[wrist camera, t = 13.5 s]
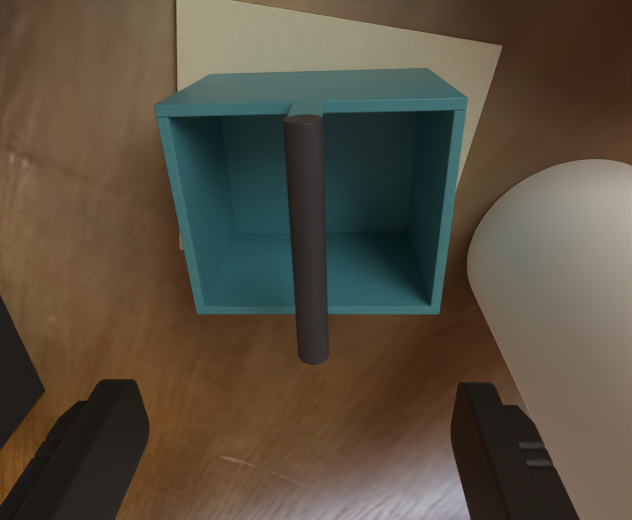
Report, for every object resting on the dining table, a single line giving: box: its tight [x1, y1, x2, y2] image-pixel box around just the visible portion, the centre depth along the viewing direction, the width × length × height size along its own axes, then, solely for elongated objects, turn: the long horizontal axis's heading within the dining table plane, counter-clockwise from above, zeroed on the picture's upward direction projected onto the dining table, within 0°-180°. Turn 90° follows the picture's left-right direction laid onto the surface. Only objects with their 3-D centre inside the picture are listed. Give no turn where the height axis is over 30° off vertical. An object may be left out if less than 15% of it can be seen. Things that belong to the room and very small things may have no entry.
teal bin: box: [154, 68, 468, 365], centre depth 23 cm, size 13×11×13 cm
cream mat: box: [176, 0, 503, 250], centre depth 28 cm, size 18×16×1 cm
